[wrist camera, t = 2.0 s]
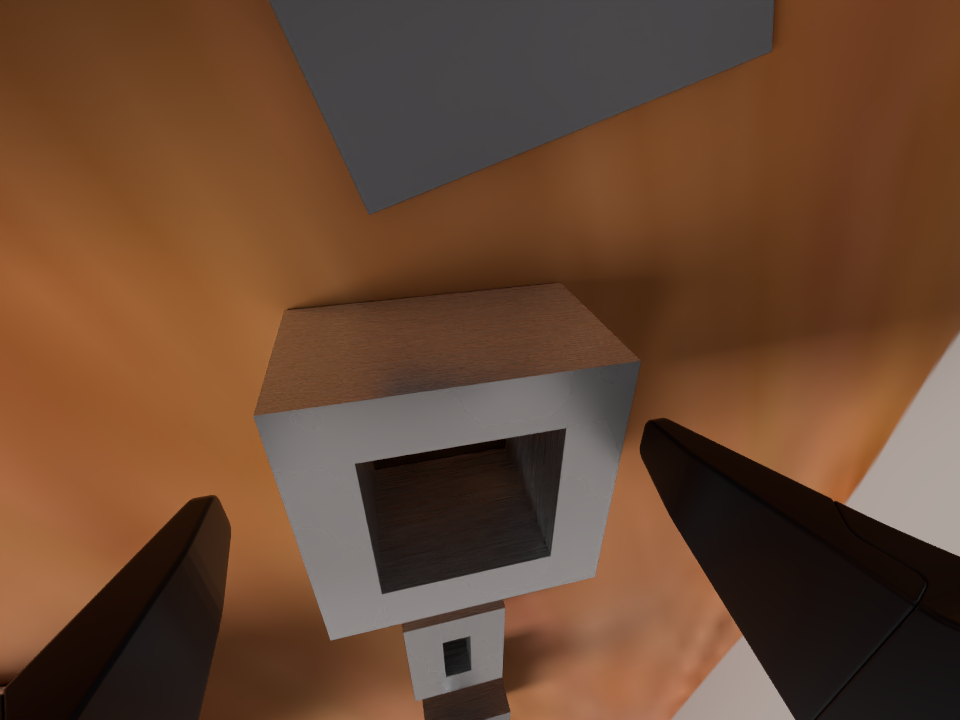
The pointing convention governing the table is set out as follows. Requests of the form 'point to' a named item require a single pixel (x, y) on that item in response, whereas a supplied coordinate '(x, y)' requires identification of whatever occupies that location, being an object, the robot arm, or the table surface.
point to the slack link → (455, 649)
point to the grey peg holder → (497, 74)
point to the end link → (444, 424)
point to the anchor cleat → (470, 703)
